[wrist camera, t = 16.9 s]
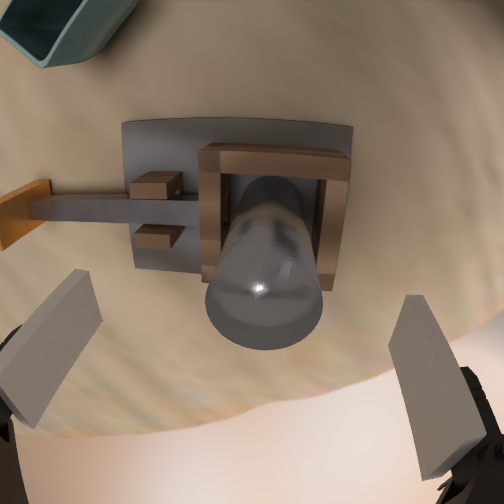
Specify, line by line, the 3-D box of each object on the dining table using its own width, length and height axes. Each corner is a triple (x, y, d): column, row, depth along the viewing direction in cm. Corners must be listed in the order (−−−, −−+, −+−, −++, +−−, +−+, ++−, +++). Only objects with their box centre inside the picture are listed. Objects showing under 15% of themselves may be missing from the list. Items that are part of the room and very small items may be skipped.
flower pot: (53, 36, 20) (-9, 29, 12) (105, -34, 17) (53, -63, 9) (104, 74, 22) (41, 71, 14) (165, -3, 19) (119, -38, 11)
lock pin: (34, 180, 27) (-21, 208, 19) (214, 176, 26) (186, 209, 18) (39, 215, 29) (-11, 249, 21) (214, 220, 28) (189, 268, 20)
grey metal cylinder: (241, 173, 25) (202, 250, 12) (304, 177, 24) (331, 259, 12) (240, 230, 27) (208, 345, 14) (298, 234, 27) (313, 352, 14)
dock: (127, 121, 24) (93, 128, 19) (349, 126, 23) (369, 132, 18) (139, 262, 31) (115, 293, 25) (330, 275, 30) (339, 312, 24)
